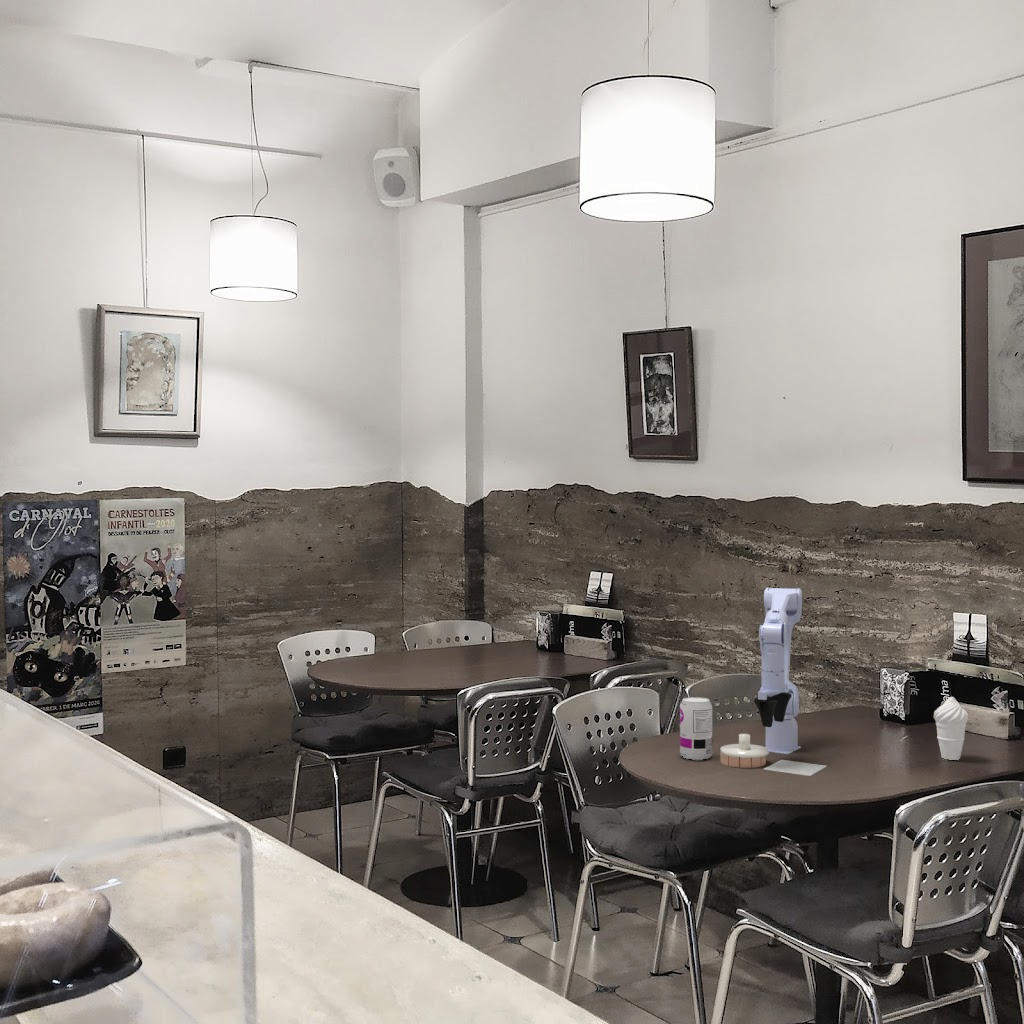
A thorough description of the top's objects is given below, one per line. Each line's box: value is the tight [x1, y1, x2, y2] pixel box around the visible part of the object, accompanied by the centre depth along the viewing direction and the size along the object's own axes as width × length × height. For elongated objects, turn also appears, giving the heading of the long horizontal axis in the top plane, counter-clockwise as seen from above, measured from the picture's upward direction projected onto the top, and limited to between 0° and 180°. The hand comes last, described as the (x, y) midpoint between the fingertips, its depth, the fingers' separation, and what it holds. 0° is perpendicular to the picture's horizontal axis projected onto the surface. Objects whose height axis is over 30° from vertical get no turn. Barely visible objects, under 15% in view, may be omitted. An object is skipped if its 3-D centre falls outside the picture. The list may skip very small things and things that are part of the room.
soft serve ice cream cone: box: [933, 696, 969, 761], centre depth 296 cm, size 8×8×16 cm
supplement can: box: [679, 696, 713, 761], centre depth 300 cm, size 8×8×15 cm
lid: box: [719, 733, 770, 758], centre depth 292 cm, size 12×12×4 cm
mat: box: [763, 759, 828, 777], centre depth 287 cm, size 12×12×1 cm
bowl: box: [719, 752, 767, 769], centre depth 293 cm, size 11×11×3 cm
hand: (773, 724), depth 293 cm, fingers open, 7 cm apart
